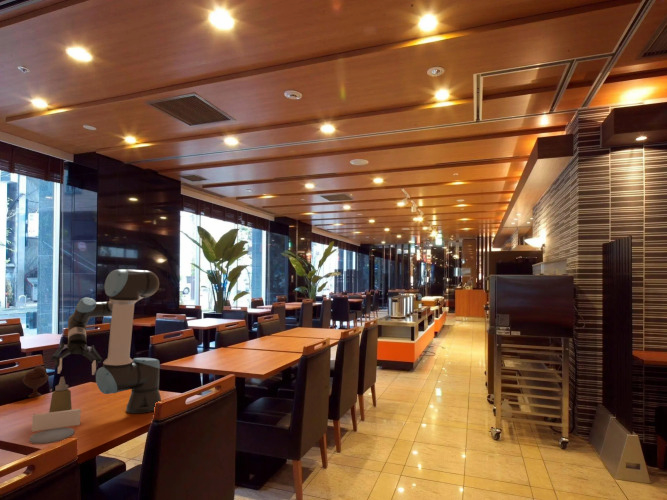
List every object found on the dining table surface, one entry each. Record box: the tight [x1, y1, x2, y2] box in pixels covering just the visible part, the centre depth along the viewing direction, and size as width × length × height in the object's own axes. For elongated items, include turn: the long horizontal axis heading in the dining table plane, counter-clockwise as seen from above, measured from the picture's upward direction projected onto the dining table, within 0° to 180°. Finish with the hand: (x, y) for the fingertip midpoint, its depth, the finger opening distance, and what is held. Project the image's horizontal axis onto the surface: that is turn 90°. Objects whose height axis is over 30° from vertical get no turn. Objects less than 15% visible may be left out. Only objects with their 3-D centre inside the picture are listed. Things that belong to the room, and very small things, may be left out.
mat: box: [29, 427, 75, 445], centre depth 152 cm, size 14×14×1 cm
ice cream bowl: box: [22, 365, 50, 398], centre depth 208 cm, size 11×11×15 cm
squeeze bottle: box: [48, 376, 73, 413], centre depth 171 cm, size 8×8×18 cm
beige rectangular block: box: [31, 408, 82, 432], centre depth 162 cm, size 16×2×6 cm, turn 118°
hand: (77, 372), depth 178 cm, fingers open, 13 cm apart
